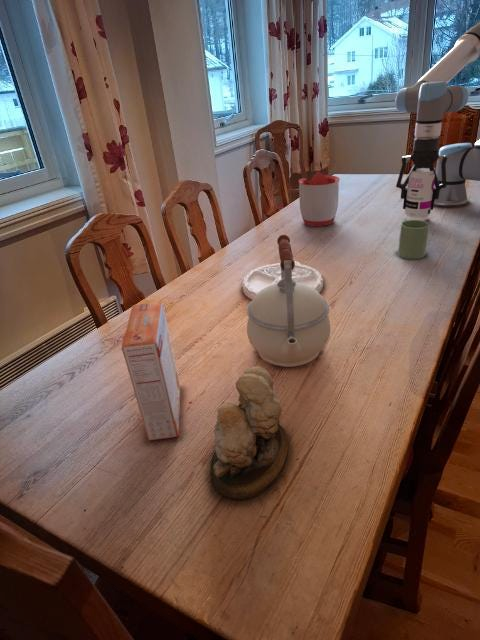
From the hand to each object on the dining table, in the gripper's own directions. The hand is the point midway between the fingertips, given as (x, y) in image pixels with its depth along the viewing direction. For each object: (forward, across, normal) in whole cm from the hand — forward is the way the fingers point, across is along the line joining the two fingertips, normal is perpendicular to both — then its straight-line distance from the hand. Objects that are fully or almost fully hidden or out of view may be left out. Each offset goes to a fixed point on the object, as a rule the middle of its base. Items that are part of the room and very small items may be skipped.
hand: (417, 208), depth 147 cm
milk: (+10, 0, +18) cm, 21 cm away
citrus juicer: (+10, -37, +11) cm, 40 cm away
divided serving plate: (+10, -34, -47) cm, 59 cm away
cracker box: (+10, -40, -107) cm, 115 cm away
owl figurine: (+10, -20, -112) cm, 114 cm away
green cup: (+10, 0, -18) cm, 20 cm away
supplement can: (+2, 0, 0) cm, 2 cm away
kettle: (+10, -22, -81) cm, 85 cm away
